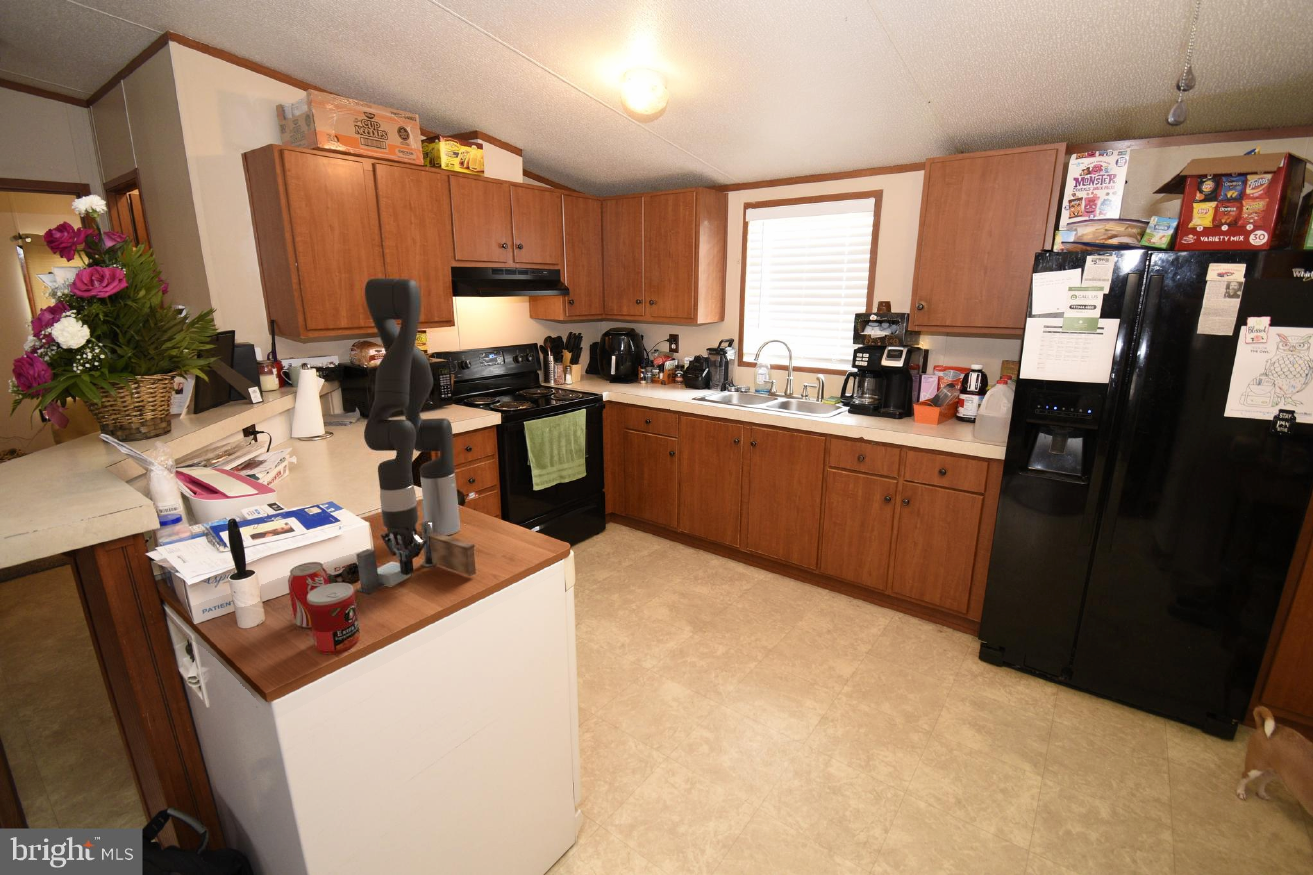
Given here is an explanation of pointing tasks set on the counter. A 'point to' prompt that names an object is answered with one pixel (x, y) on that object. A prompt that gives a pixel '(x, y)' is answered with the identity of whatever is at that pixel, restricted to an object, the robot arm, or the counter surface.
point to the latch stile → (368, 572)
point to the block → (391, 574)
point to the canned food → (333, 617)
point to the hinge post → (427, 543)
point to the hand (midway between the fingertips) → (407, 573)
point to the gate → (452, 554)
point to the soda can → (305, 588)
